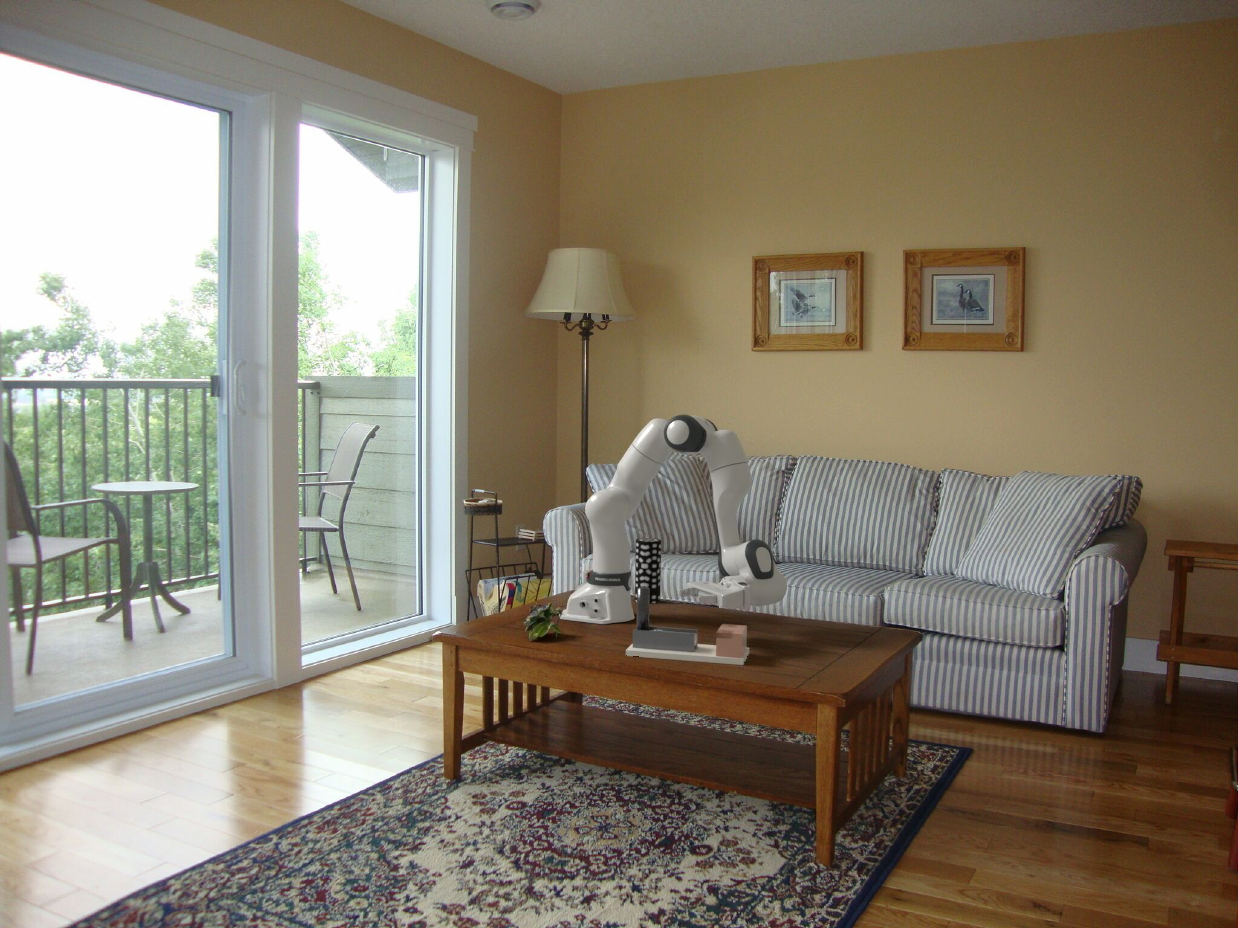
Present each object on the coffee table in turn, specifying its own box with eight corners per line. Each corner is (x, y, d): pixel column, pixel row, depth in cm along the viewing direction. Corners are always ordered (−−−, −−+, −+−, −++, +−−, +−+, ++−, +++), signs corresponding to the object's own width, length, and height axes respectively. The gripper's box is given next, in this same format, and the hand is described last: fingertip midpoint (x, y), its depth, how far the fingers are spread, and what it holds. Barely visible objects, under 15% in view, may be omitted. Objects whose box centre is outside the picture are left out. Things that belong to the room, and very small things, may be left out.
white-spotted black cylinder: (642, 604, 322) (643, 542, 320) (630, 599, 329) (631, 538, 328) (665, 602, 326) (666, 540, 324) (652, 597, 333) (653, 537, 332)
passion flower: (535, 654, 279) (543, 614, 285) (568, 651, 274) (575, 611, 280) (512, 637, 271) (521, 597, 277) (546, 635, 266) (554, 593, 272)
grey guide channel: (632, 647, 260) (632, 629, 260) (637, 642, 265) (637, 625, 265) (693, 652, 256) (694, 634, 256) (697, 646, 261) (697, 629, 261)
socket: (715, 655, 252) (716, 632, 252) (721, 646, 262) (722, 623, 262) (741, 657, 251) (741, 634, 250) (746, 648, 261) (746, 625, 260)
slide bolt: (633, 642, 261) (634, 588, 260) (636, 639, 264) (637, 586, 263) (694, 647, 257) (695, 592, 256) (696, 644, 260) (697, 590, 259)
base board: (625, 655, 257) (625, 650, 257) (636, 644, 269) (636, 639, 269) (743, 665, 250) (743, 659, 250) (749, 653, 261) (749, 647, 261)
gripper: (712, 574, 282) (669, 578, 276) (753, 586, 264) (708, 590, 258) (712, 596, 283) (669, 601, 277) (753, 610, 264) (707, 615, 258)
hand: (688, 596), depth 267 cm, fingers open, 8 cm apart
